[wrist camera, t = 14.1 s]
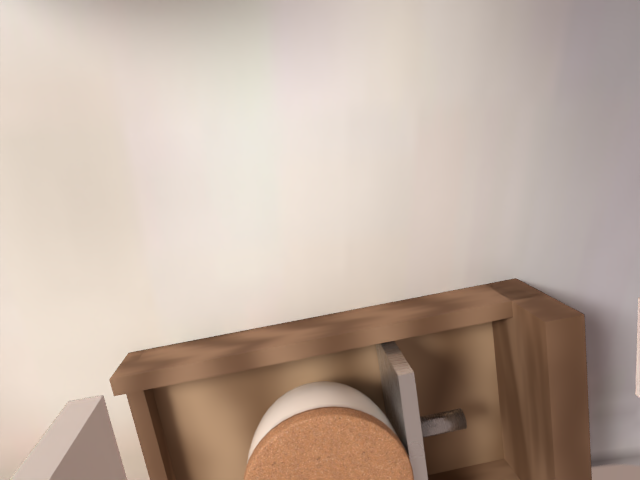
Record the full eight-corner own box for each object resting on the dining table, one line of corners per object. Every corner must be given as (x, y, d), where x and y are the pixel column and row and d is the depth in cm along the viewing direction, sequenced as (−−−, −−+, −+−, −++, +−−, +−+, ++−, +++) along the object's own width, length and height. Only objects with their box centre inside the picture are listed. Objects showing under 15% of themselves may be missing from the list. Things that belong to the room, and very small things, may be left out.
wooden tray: (178, 537, 37) (153, 641, 29) (128, 353, 33) (84, 414, 26) (529, 459, 39) (594, 537, 31) (515, 278, 35) (584, 314, 28)
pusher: (395, 479, 37) (422, 552, 30) (373, 331, 34) (398, 375, 27) (455, 466, 37) (494, 535, 30) (437, 319, 34) (477, 359, 28)
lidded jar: (381, 349, 35) (419, 419, 26) (389, 471, 37) (427, 577, 28) (240, 366, 34) (227, 446, 25) (257, 490, 36) (251, 606, 27)
